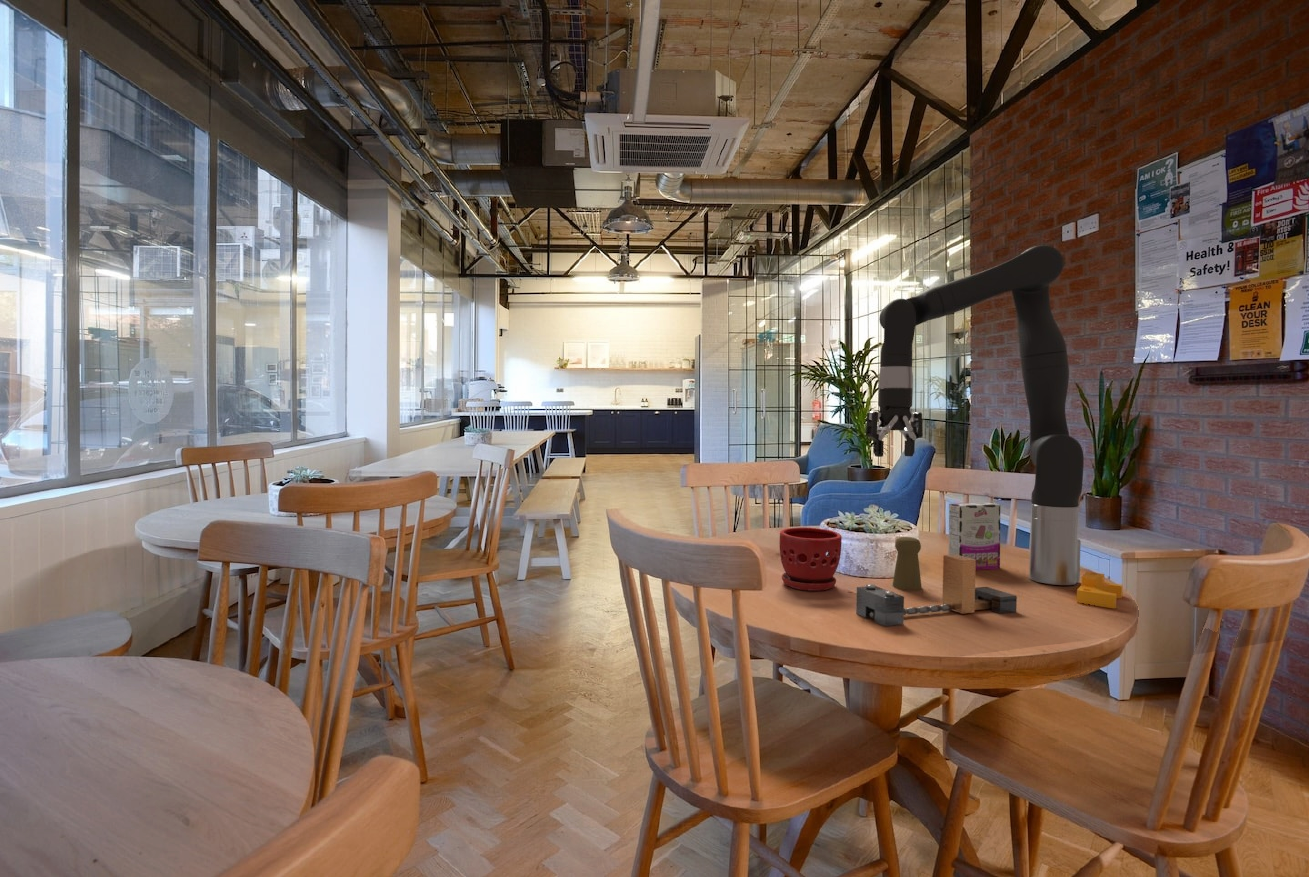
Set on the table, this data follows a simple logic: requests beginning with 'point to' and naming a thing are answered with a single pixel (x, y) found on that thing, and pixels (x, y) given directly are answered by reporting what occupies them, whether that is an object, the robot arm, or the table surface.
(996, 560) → the candy bar box
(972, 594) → the tie-down chain
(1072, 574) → the robot arm
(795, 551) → the plant pot
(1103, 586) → the yellow stand
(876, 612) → the block
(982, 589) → the hook
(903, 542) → the olive keyhole shaped block
